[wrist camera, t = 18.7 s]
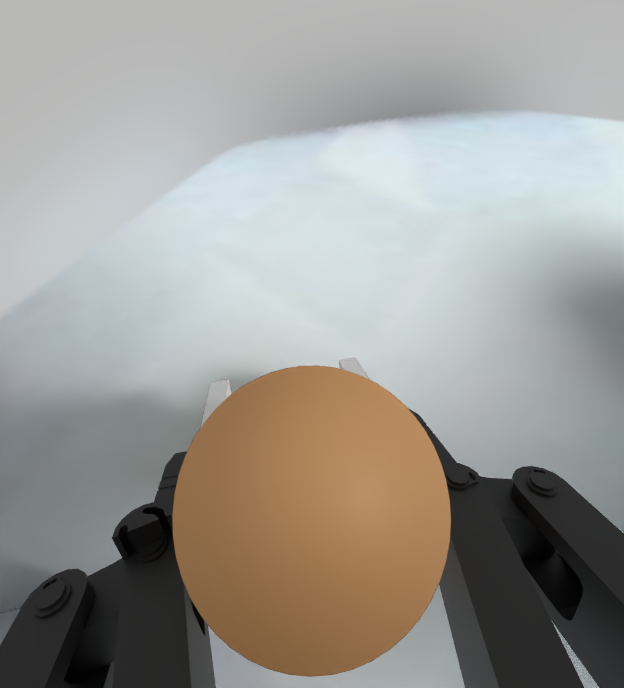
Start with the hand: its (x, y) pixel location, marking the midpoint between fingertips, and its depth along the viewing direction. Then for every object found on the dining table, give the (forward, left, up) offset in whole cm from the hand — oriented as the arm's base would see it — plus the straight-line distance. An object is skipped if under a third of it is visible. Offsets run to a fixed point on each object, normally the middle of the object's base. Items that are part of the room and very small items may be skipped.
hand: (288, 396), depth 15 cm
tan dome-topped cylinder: (+3, +2, -4) cm, 5 cm away
